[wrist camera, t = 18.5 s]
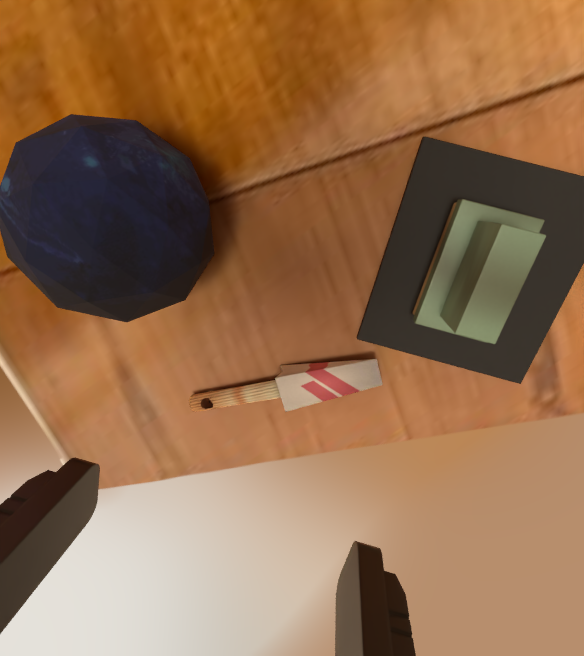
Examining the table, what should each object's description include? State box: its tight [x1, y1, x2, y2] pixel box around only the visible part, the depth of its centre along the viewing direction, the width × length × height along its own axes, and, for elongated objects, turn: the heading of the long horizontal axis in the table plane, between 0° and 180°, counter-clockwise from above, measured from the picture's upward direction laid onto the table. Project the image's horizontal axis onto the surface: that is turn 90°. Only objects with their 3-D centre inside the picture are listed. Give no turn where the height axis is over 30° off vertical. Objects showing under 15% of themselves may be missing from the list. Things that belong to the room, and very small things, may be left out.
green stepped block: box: [413, 199, 546, 344], centre depth 29 cm, size 10×6×7 cm, turn 166°
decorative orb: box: [0, 114, 214, 322], centre depth 28 cm, size 14×15×15 cm
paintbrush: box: [189, 359, 382, 412], centre depth 37 cm, size 4×3×20 cm
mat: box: [357, 137, 584, 384], centre depth 32 cm, size 18×16×1 cm
